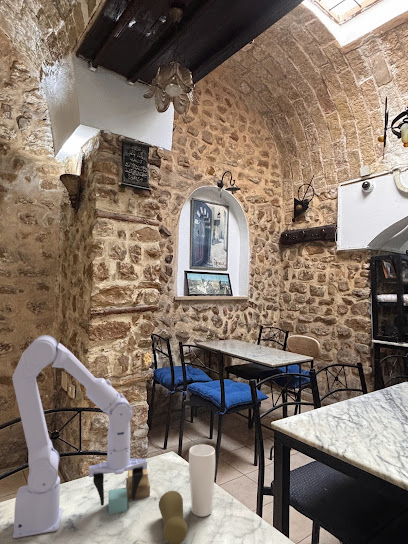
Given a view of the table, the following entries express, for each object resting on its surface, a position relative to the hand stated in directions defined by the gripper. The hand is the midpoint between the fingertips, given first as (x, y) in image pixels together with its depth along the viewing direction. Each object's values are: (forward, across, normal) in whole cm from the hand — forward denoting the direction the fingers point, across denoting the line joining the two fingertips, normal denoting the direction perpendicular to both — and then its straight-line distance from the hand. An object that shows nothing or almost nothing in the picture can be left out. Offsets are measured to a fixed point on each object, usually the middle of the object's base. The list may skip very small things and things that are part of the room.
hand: (118, 500), depth 86 cm
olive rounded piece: (-1, +12, -7) cm, 14 cm away
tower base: (+2, +6, +5) cm, 8 cm away
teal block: (+2, 0, 0) cm, 2 cm away
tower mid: (-1, +6, +6) cm, 8 cm away
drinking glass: (+2, +20, -8) cm, 22 cm away
